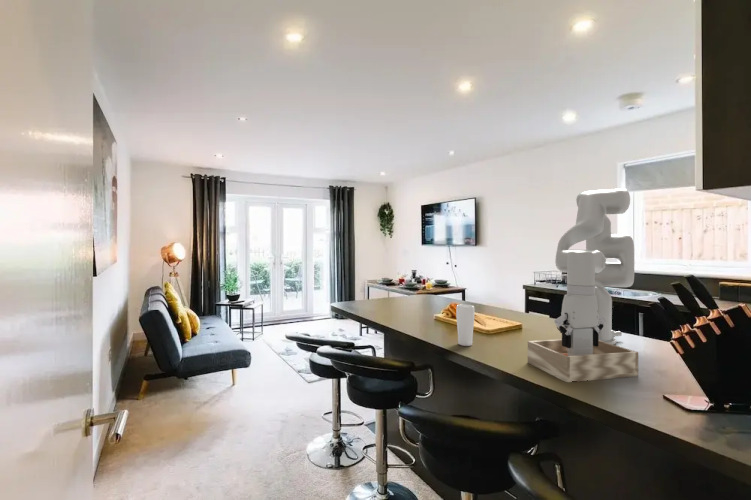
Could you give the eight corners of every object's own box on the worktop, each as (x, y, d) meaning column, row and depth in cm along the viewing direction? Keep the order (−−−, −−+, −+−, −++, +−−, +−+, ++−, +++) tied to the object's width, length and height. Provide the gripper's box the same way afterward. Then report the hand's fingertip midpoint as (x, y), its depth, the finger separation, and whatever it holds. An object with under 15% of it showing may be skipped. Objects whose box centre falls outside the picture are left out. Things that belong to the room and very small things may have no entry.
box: (590, 358, 128) (591, 337, 128) (638, 376, 110) (638, 352, 110) (527, 362, 123) (527, 341, 123) (566, 382, 105) (566, 357, 105)
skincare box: (586, 363, 119) (586, 325, 119) (593, 368, 114) (593, 328, 114) (566, 363, 119) (566, 325, 119) (572, 367, 115) (572, 328, 115)
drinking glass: (462, 341, 150) (462, 303, 150) (477, 344, 145) (477, 305, 145) (452, 344, 145) (452, 305, 145) (468, 347, 141) (468, 307, 140)
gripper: (595, 288, 122) (594, 341, 122) (547, 290, 118) (547, 344, 119) (614, 291, 115) (613, 347, 115) (564, 293, 111) (564, 351, 111)
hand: (580, 346), depth 117 cm, fingers open, 9 cm apart
